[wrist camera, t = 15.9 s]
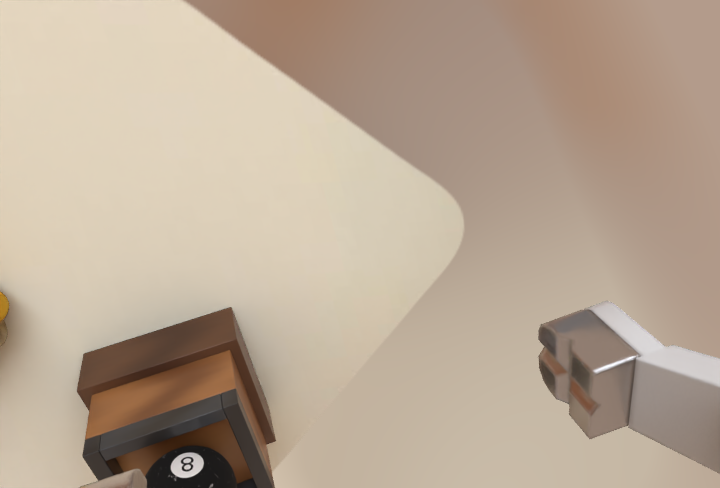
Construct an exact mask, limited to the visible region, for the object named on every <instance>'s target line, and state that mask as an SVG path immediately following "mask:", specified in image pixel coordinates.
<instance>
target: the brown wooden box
mask: <svg viewBox="0 0 720 488" xmlns="http://www.w3.org/2000/svg"><path fill="white" fill-rule="evenodd" d="M77 392H78V394H79V395H80V397H81V399H82V400H83V402H84V404H85V405H86V407H87V408H88V410H89V417H88V423H87V430H86V436H85V444H84V450H83V458H84V460H85V461H86V463H87V464H88V466H89V467H90V469H91V470H92V472H93V473H94V475H95V476H96V478H97V479H98V481H99V480H102V479H105V478H108V477H111V476H114V475H117V474H121V473H124V472H127V471H130V470H133V469H140V470H141V472H142V473H143V475H144V476H146V474H147V472H148V470H149V469H150V468H151V466H152V465H153V464H154V463H155V462H156V461H157V460H158V459H159V458H160V457H162V456H163V455H165V454H166V453H168V452H170V451H172V450H174V449H177V448H180V447H184V446H204V447H208V448H211V449H213V450H215V451H217V452H219V453H220V454H221V455H222V456H223V457H224V458H225V459H226V460H227V461H228V462H229V464H230V465H231V467H232V469H233V471H234V474H235V477H236V481H237V488H275V487H274V482H273V477H272V472H271V466H270V461H269V456H268V451H267V446H266V445H267V444H269V443H272V442H275V441H276V440H275V435H274V430H273V426H272V421H271V416H270V412H269V407H268V404H267V401H266V399H265V396H264V393H263V391H262V388H261V385H260V383H259V380H258V377H257V375H256V372H255V369H254V367H253V364H252V361H251V358H250V356H249V353H248V350H247V348H246V345H245V342H244V340H243V337H242V334H241V332H240V329H239V326H238V324H237V321H236V318H235V316H234V313H233V310H232V308H231V307H230V308H227V309H224V310H221V311H217V312H214V313H211V314H208V315H205V316H202V317H198V318H195V319H192V320H189V321H186V322H183V323H180V324H176V325H173V326H170V327H167V328H164V329H161V330H157V331H154V332H151V333H148V334H145V335H142V336H139V337H135V338H132V339H129V340H126V341H123V342H120V343H117V344H113V345H110V346H107V347H104V348H101V349H98V350H94V351H91V352H88V353H85V354H84V355H83V361H82V366H81V371H80V377H79V382H78V387H77Z"/></svg>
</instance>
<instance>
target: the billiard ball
mask: <svg viewBox="0 0 720 488" xmlns="http://www.w3.org/2000/svg"><path fill="white" fill-rule="evenodd" d="M145 478H146V479H147V488H237V481H236V477H235V474H234V471H233V469H232V467H231V465H230V464H229V462H228V461H227V460H226V459H225V458H224V457H223V456H222V455H221V454H220V453H219V452H217V451H215V450H213V449H211V448H208V447H204V446H184V447H180V448H177V449H174V450H172V451H170V452H168V453H166V454H165V455H163V456H162V457H160V458H159V459H158V460H157V461H156V462H155V463H154V464H153V465H152V466H151V468H150V469H149V470H148V472H147V474H146V476H145Z"/></svg>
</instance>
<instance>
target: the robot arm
mask: <svg viewBox="0 0 720 488" xmlns="http://www.w3.org/2000/svg"><path fill="white" fill-rule="evenodd" d="M538 338H539V341H540V342H541V343H542V344H543V345H544V346H545V347H544V348H543V350H542V351H541V353H540V355H539V368H540V371H541V374H542V377H543V380H544V382H545V384H546V386H547V387H548V389H549V390H550V392H551V393H552V394H553V396H554V397H555V398H556V399H558V400H560V401H563V402H565V403H568V404H569V407H570V408H569V415H570V416H571V417H572V419H573V420H574V421H575V422H576V423H577V425H578V426H579V427H580V428H581V429H582V431H583V432H584V433H585V434H586V435H587V436H588V438H589V439H592V438H594V437H597V436H600V435H603V434H605V433H608V432H611V431H614V430H617V429H619V428H622V427H625V426H628V425H629V428H630V429H632V430H634V431H636V432H638V433H640V434H642V435H644V436H646V437H648V438H650V439H652V440H654V441H656V442H658V443H660V444H662V445H664V446H666V447H668V448H670V449H672V450H674V451H676V452H678V453H680V454H682V455H684V456H686V457H688V458H690V459H692V460H694V461H696V462H698V463H700V464H702V465H704V466H706V467H708V468H710V469H712V470H714V471H716V472H717V473H720V359H719V358H716V357H712V356H709V355H705V354H702V353H699V352H695V351H691V350H688V349H685V348H681V347H678V346H674V345H671V346H668V347H665V346H664V345H663V344H662V343H661V342H659V341H658V340H657V339H656V338H655V337H653V336H652V335H651V334H650V333H649V332H647V331H646V330H645V329H644V328H642V327H641V326H640V325H639V324H638V323H636V322H635V321H634V320H633V319H632V318H630V317H629V316H628V315H627V314H626V313H624V312H623V311H622V310H621V309H620V308H618V307H617V306H616V305H615V304H614V303H612V302H609V301H604V302H602V303H599V304H596V305H593V306H591V307H588V308H585V309H584V310H580V311H577V312H574V313H571V314H569V315H566V316H563V317H560V318H558V319H555V320H552V321H550V322H547V323H544V324H541V326H540V328H539V336H538ZM80 488H147V479H146V478H145V476H144V475H143V473H142V472H141V470H140V469H133V470H130V471H127V472H124V473H121V474H117V475H114V476H111V477H108V478H105V479H102V480H99V481H96V482H93V483H90V484H87V485H84V486H81V487H80Z"/></svg>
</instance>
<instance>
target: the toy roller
mask: <svg viewBox="0 0 720 488" xmlns="http://www.w3.org/2000/svg"><path fill="white" fill-rule="evenodd" d="M8 310H9V301H8V299H7V298H6V296H5V295H4V294H3V293H2V292H1V291H0V347H1V346H2V345H3V343H4V342H5V340H6V338H7V328H6V325H5V322H4V320H3V319H4V318H5V317H6V315H7V313H8Z"/></svg>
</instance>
